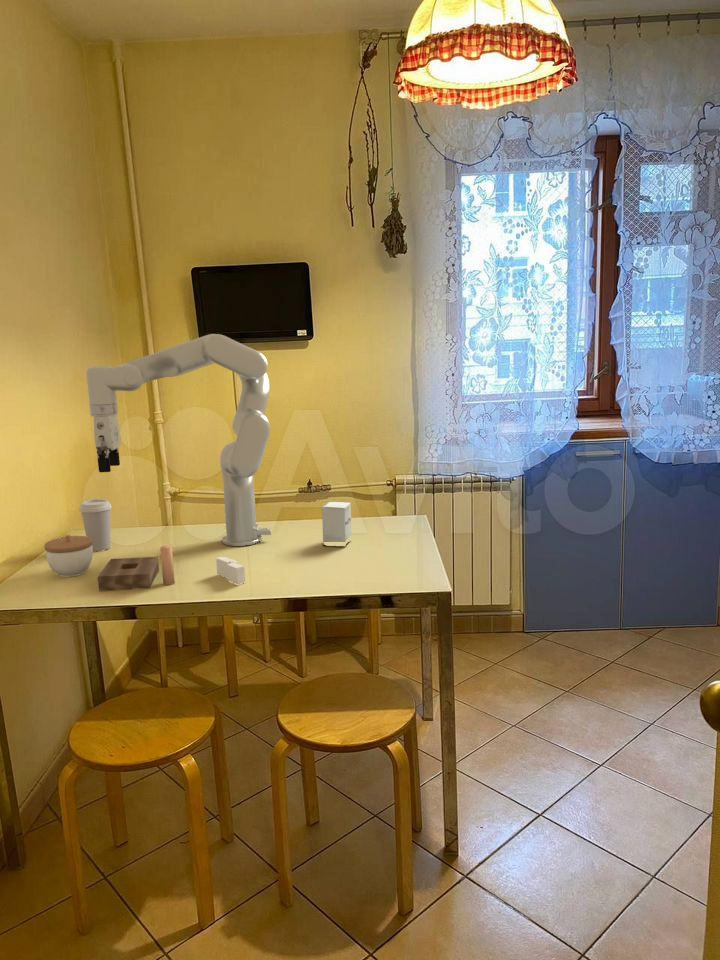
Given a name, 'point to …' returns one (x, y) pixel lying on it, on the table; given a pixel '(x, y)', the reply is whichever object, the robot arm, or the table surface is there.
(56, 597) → the table surface
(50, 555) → the lidded bowl
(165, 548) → the peg
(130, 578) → the hole block
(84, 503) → the coffee cup
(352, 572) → the table surface
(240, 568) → the napkin holder
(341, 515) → the supplement box
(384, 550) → the table surface
